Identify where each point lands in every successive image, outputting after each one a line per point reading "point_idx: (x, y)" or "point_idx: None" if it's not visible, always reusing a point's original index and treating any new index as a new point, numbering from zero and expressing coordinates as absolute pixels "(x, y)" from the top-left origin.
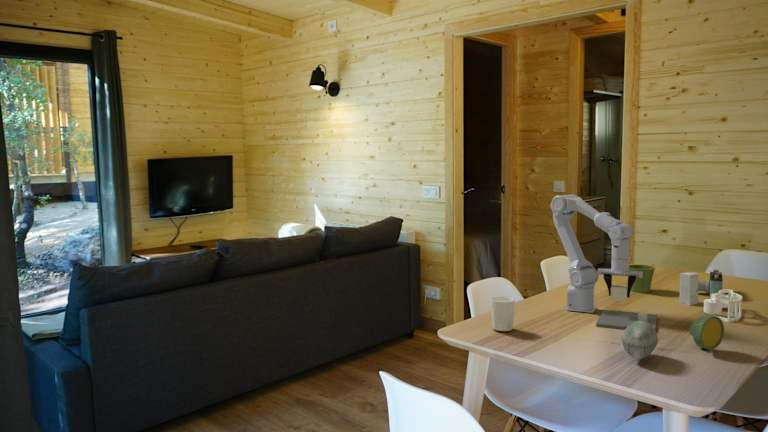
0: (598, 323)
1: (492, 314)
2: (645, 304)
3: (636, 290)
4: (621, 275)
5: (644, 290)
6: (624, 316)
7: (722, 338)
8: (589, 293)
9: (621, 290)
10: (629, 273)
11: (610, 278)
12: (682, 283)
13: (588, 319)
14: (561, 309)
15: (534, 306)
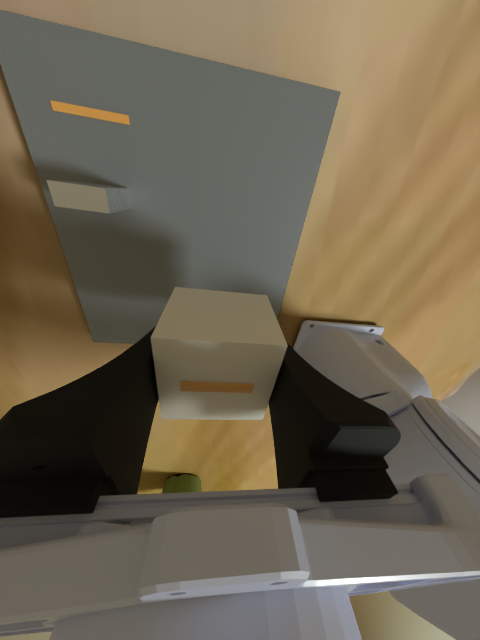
0: (327, 97)
1: None
2: (160, 430)
3: (187, 483)
4: (194, 501)
5: (171, 486)
6: (199, 286)
7: None
8: (344, 380)
9: (201, 328)
10: (11, 572)
11: (326, 421)
12: None
13: (335, 238)
14: (388, 338)
15: (457, 346)
